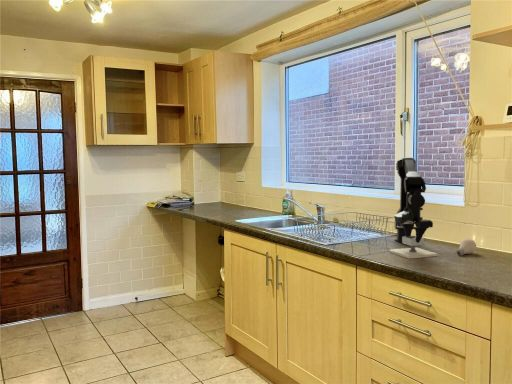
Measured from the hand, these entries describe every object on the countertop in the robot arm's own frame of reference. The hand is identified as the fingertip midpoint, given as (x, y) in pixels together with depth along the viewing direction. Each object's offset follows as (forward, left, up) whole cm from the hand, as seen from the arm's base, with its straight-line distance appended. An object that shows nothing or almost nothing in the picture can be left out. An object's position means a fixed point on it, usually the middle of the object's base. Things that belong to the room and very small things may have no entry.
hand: (412, 241), depth 199 cm
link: (0, 0, -1) cm, 1 cm away
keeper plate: (0, 0, -6) cm, 6 cm away
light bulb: (+8, +20, -6) cm, 23 cm away
